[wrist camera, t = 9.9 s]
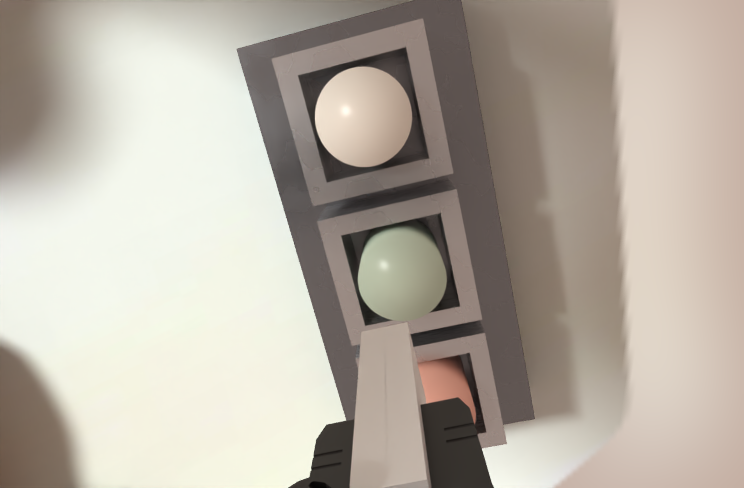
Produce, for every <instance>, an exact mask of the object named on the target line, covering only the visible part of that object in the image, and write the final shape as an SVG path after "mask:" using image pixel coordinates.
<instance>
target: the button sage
mask: <svg viewBox="0 0 744 488" xmlns="http://www.w3.org/2000/svg"><path fill="white" fill-rule="evenodd" d="M446 283H447V275H446V269H445V266H444V263H443V260H442V257H441V254H440V251H439V248H438V245H437V242H436V240H435V237H434V236H433V234H432V232H431V231H430V230H429V229H428V228H427V227H426V226H425V225H424V224H422V223H421V222H419V221H417V220H415V219H412V220H407V221H403V222H398V223H394V224H390V225H385V226H381V227H376V228H373V229H372V230H371V231H370V232H369V234H368V236H367V237H366V240H365V242H364V246H363V251H362V256H361V262H360V267H359V272H358V286H359V291H360V294H361V296H362V298H363V300H364V301H365V303H366V304H367V305H368V307H369V308H370V309H371V310H373V311H374V312H375V313H377V314H378V315H380V316H382V317H384V318H387V319H390V320H394V321H409V320H414V319H418V318H420V317H423V316H424V315H426V314H428V313H429V312H430V311H432V310H433V309H434V308H435V307H436V306H437V305H438V303H439V302H440V300H441V299H442V297H443V295H444V292H445V289H446Z"/></svg>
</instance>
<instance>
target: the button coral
mask: <svg viewBox="0 0 744 488" xmlns="http://www.w3.org/2000/svg"><path fill="white" fill-rule="evenodd" d="M417 364H418V368H419V372H420V376H421V380H422V384H423V388H424V392H425V397H426V403H431V402H437V401H442V400H447V399H452V398H457V397H459V398H460V399H461V400H462V401H463V402H464V403H465V404H466V405H467V406H468V407H469V408H470V410H471V414H472V417H473V421H474V424H475V420H476V411H475V406H474V403H473V399H472V396H471V392H470V388H469V385H468V381H467V378H466V374H465V371H464V367H463V364H462V361H461V358H460V357H459V355H456V356H451V357H446V358H441V359H436V360H431V361H426V362H420V363H417Z"/></svg>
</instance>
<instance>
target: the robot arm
mask: <svg viewBox="0 0 744 488" xmlns="http://www.w3.org/2000/svg"><path fill="white" fill-rule="evenodd" d="M311 469H312V471H311V472H310V477H309V478H306V479H303V480H301V481H298V482H296V483H295V484H293V485H292V486H290V487H289V488H494V487H493V485H492V483H491V479H490V476H489V472H488V469H487V465H486V462H485V458H484V455H483V452H482V448H481V445H480V441H479V438H478V434H477V431H476V428H475V424H474V421H473V417H472V414H471V410H470V408H469V407H468V406H467V405H466V404H465V403H464V402H463V401H462V400H461V399H460V398H459V397H457V398H452V399H447V400H442V401H437V402H431V403H426V397H425V392H424V388H423V384H422V380H421V376H420V372H419V368H418V364H417V359H416V355H415V351H414V347H413V343H412V339H411V335H410V331H409V327H408V322H405V323H401V324H396V325H391V326H387V327H382V328H377V329H372V330H368V331H363V332H361V343H360V356H359V369H358V382H357V396H356V409H355V419H353V420H348V421H343V422H338V423H333V424H328V425H326V426H325V428H324V429H323V431H322V432H321V434H320V435H319V437H318V438H317V439H316V445H315V450H314V458H313V461H312V466H311Z"/></svg>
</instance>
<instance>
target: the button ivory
mask: <svg viewBox="0 0 744 488" xmlns="http://www.w3.org/2000/svg"><path fill="white" fill-rule="evenodd" d="M315 124H316V129H317V132H318V135H319V138H320V140H321V142H322V143H323V145H324V147H325V148H326V149H327V150H328V151H329V153H331V154H332V155H333V156H334V157H335V158H337V159H338V160H340V161H342V162H344V163H346V164H349V165H352V166H356V167H371V166H376V165H379V164H382V163H384V162H386V161H388V160H389V159H391V158H392V157H393V156H395V155H396V154H397V153H398V152H399V151H400V150H401V148H402V147H403V145H404V144H405V142H406V140H407V138H408V136H409V133H410V129H411V124H412V110H411V105H410V101H409V98H408V96H407V94H406V92H405V90H404V89H403V87H402V86H401V85H400V83H399V82H398V81H397V80H396V79H395V78H393V77H392V76H391V75H389V74H388V73H386V72H384V71H382V70H379V69H376V68H372V67H355V68H350V69H347V70H345V71H343V72H341V73H339V74H337V75H336V76H334V77H333V78H332V79H331V80H330V81H329V82H328V83H327V84H326V85H325V87H324V88H323V90H322V91H321V93H320V95H319V98H318V101H317V104H316V109H315Z"/></svg>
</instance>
